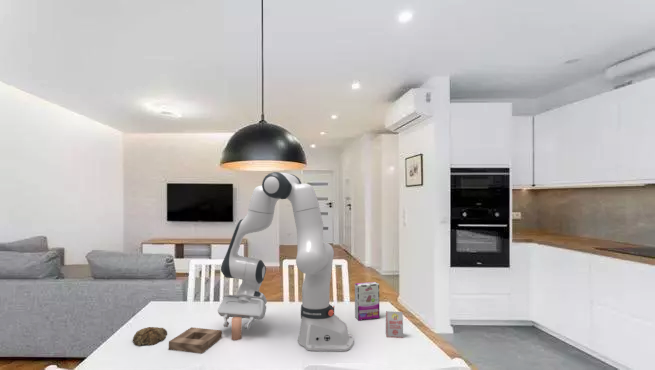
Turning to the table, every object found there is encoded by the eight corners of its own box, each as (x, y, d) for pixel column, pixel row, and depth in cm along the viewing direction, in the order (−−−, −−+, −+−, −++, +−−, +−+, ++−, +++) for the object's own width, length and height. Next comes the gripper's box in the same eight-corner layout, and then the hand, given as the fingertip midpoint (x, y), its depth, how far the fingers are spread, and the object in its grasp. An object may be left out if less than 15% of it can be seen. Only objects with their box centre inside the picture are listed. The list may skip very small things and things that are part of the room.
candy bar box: (375, 315, 164) (375, 281, 165) (379, 318, 159) (379, 284, 160) (354, 317, 161) (354, 282, 162) (358, 321, 156) (358, 285, 157)
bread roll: (135, 336, 138) (135, 323, 139) (168, 331, 143) (168, 320, 143) (129, 349, 127) (129, 336, 127) (165, 344, 131) (165, 331, 131)
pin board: (221, 337, 137) (221, 330, 137) (202, 353, 123) (202, 345, 123) (191, 334, 139) (191, 327, 140) (168, 349, 126) (168, 341, 126)
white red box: (385, 333, 142) (385, 309, 142) (401, 334, 142) (401, 310, 142) (386, 337, 138) (386, 312, 139) (403, 338, 138) (403, 313, 138)
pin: (243, 336, 138) (243, 317, 138) (238, 340, 134) (239, 320, 134) (234, 335, 139) (234, 316, 139) (229, 339, 135) (229, 319, 135)
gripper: (222, 290, 146) (209, 321, 136) (266, 293, 142) (256, 326, 132) (227, 298, 150) (215, 328, 140) (270, 301, 146) (261, 333, 136)
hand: (235, 327), depth 136 cm, fingers open, 8 cm apart
